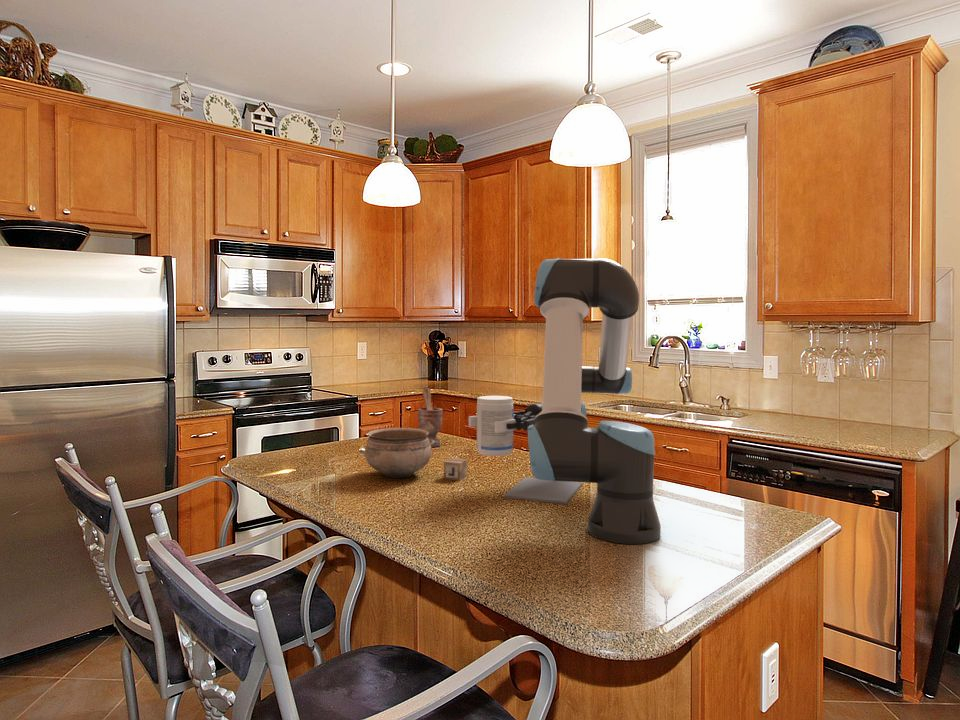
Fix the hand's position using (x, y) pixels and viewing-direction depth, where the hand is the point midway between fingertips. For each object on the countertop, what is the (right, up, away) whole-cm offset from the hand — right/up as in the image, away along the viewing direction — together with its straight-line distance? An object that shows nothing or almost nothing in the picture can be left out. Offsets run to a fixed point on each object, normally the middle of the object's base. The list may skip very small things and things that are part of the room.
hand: (482, 424), depth 167 cm
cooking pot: (-24, -17, +19) cm, 35 cm away
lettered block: (-8, -17, +17) cm, 25 cm away
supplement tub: (+3, -8, +3) cm, 9 cm away
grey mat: (+16, -18, +4) cm, 25 cm away
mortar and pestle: (-19, -14, +64) cm, 68 cm away
